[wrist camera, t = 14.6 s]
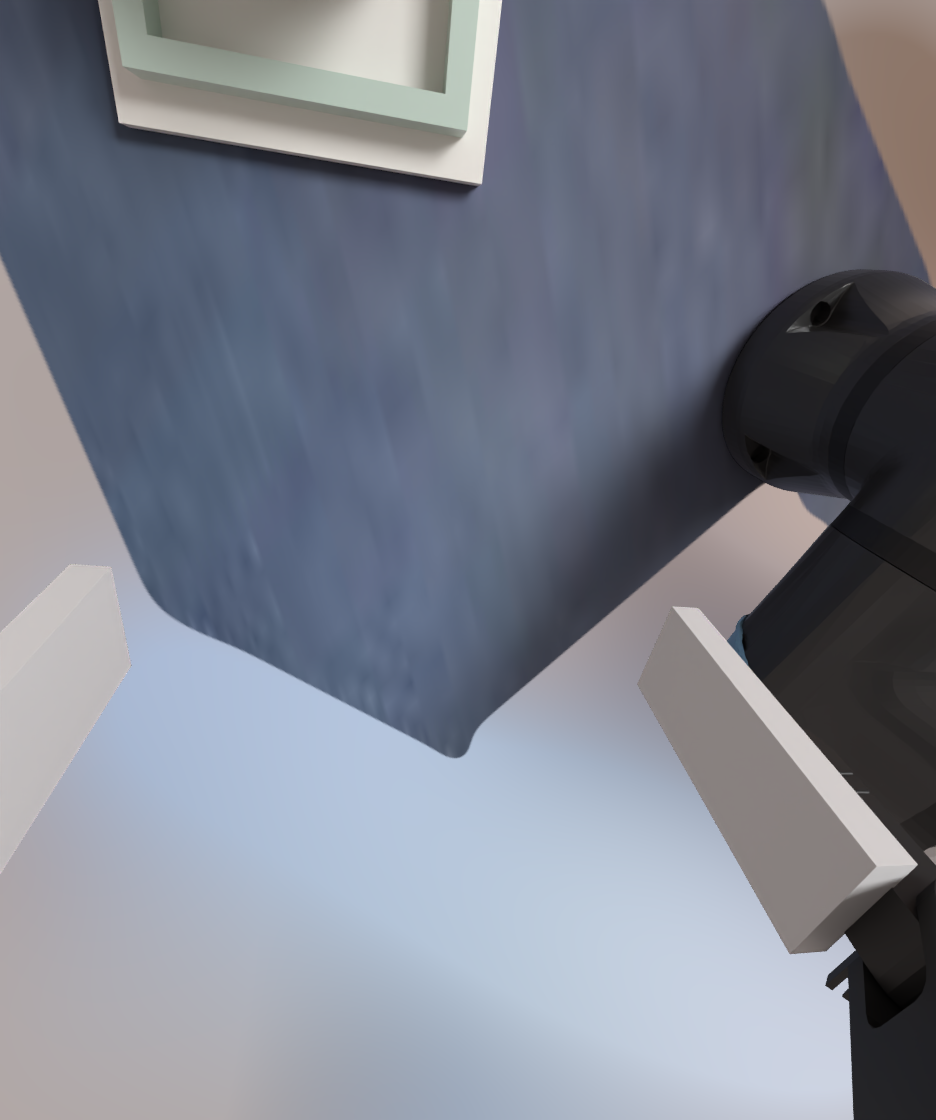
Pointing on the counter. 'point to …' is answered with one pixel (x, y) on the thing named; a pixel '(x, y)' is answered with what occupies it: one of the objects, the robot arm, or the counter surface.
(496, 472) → the counter surface
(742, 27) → the counter surface
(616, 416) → the counter surface
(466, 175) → the pocket plate
